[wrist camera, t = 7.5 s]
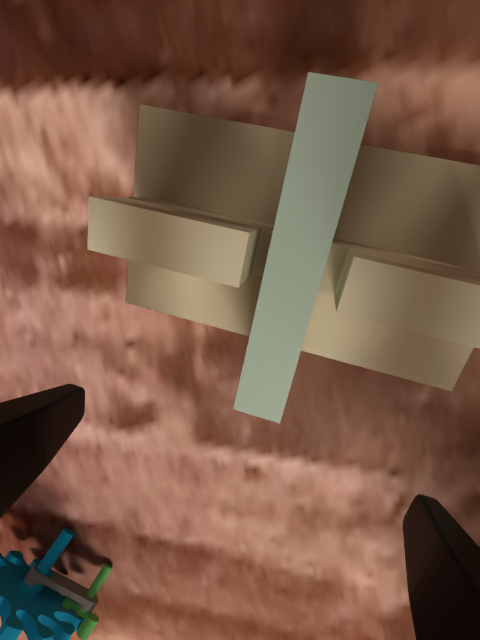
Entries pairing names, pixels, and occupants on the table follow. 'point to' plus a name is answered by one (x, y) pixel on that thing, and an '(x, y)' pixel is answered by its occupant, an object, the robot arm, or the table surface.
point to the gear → (45, 597)
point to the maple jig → (344, 257)
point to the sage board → (302, 236)
